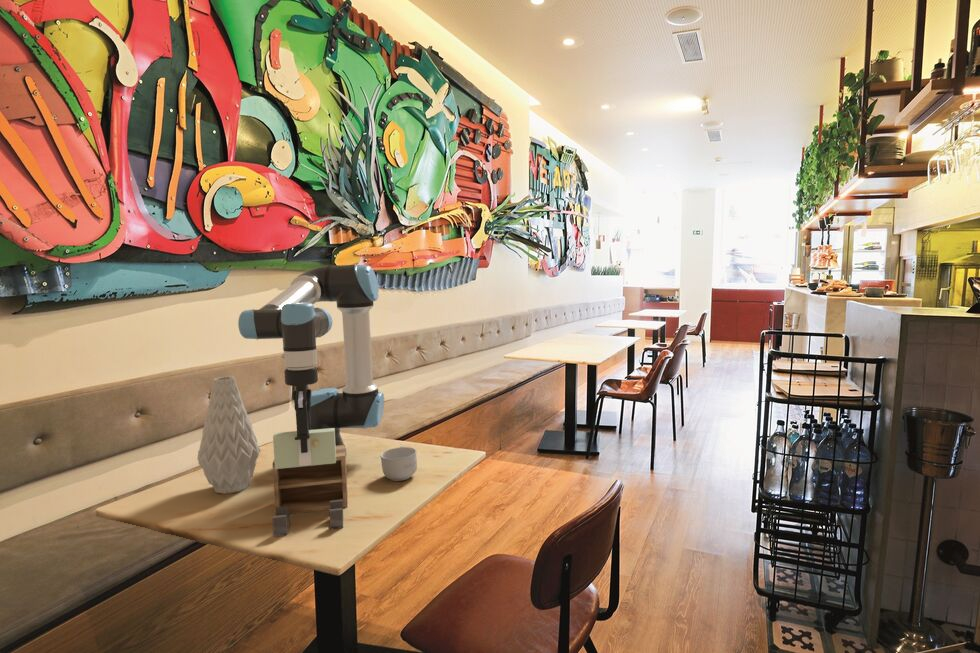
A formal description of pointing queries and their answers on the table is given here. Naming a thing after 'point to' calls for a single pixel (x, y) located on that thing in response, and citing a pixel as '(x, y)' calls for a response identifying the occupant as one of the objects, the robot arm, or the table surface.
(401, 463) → the teacup
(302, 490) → the wooden shelf unit
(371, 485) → the table surface
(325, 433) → the door
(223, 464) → the vase
